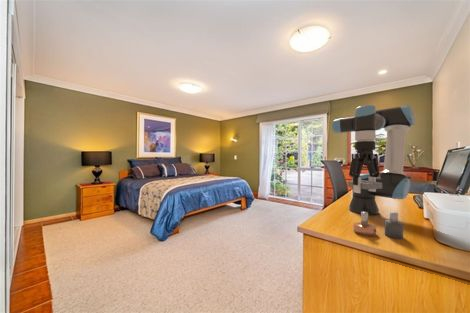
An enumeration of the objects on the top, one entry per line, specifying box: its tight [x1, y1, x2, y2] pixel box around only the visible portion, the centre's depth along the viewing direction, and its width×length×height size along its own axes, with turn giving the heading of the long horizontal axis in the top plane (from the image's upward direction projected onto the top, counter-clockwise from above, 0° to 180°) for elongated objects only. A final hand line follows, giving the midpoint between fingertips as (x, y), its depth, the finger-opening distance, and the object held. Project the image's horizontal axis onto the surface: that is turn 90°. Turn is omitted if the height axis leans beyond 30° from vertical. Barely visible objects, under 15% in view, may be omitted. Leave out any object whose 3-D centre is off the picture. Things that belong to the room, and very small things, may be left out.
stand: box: [384, 211, 404, 240], centre depth 82 cm, size 6×6×10 cm
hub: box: [352, 211, 377, 237], centre depth 85 cm, size 8×8×9 cm
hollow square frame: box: [347, 180, 382, 190], centre depth 85 cm, size 9×9×2 cm
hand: (364, 191), depth 85 cm, fingers closed on hollow square frame, 9 cm apart
